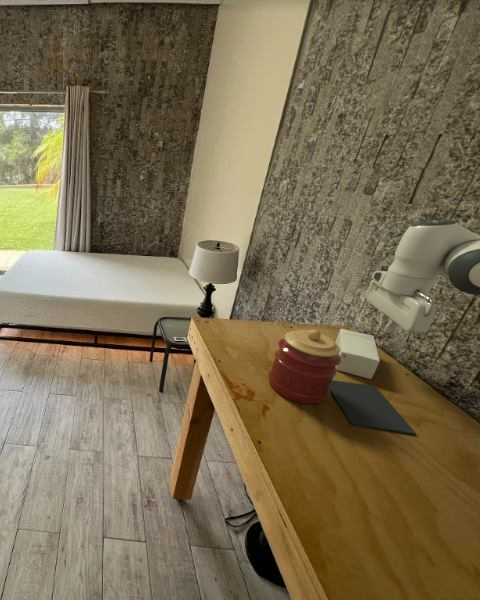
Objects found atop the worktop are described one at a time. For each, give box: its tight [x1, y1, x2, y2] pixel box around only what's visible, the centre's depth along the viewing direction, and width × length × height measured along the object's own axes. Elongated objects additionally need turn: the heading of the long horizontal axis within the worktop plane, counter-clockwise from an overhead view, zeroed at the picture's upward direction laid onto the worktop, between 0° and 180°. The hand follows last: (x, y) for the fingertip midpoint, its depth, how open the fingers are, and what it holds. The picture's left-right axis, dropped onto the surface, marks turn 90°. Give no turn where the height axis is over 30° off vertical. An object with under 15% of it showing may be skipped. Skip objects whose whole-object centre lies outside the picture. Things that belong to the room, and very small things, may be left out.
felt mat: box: [328, 379, 417, 436], centre depth 77 cm, size 12×16×1 cm
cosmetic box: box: [334, 328, 381, 380], centre depth 92 cm, size 8×7×16 cm
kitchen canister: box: [268, 328, 341, 405], centre depth 80 cm, size 13×13×18 cm
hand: (385, 330), depth 87 cm, fingers closed
